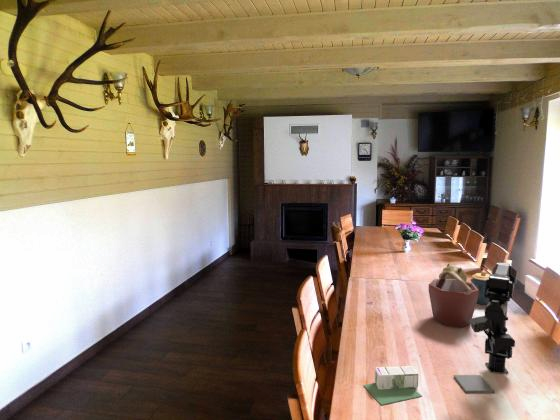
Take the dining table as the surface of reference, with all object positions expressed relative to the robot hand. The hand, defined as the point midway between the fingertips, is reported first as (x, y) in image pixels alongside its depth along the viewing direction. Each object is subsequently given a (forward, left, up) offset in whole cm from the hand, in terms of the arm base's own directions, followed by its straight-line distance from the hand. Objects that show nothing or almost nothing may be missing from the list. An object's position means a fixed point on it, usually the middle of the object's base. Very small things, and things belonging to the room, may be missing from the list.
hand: (494, 353), depth 141 cm
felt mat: (+8, -35, -13) cm, 39 cm away
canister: (-91, +23, -13) cm, 95 cm away
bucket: (-59, -1, -13) cm, 60 cm away
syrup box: (+3, -26, -10) cm, 28 cm away
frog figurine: (-125, +14, -13) cm, 127 cm away
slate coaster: (-1, -6, -13) cm, 14 cm away
